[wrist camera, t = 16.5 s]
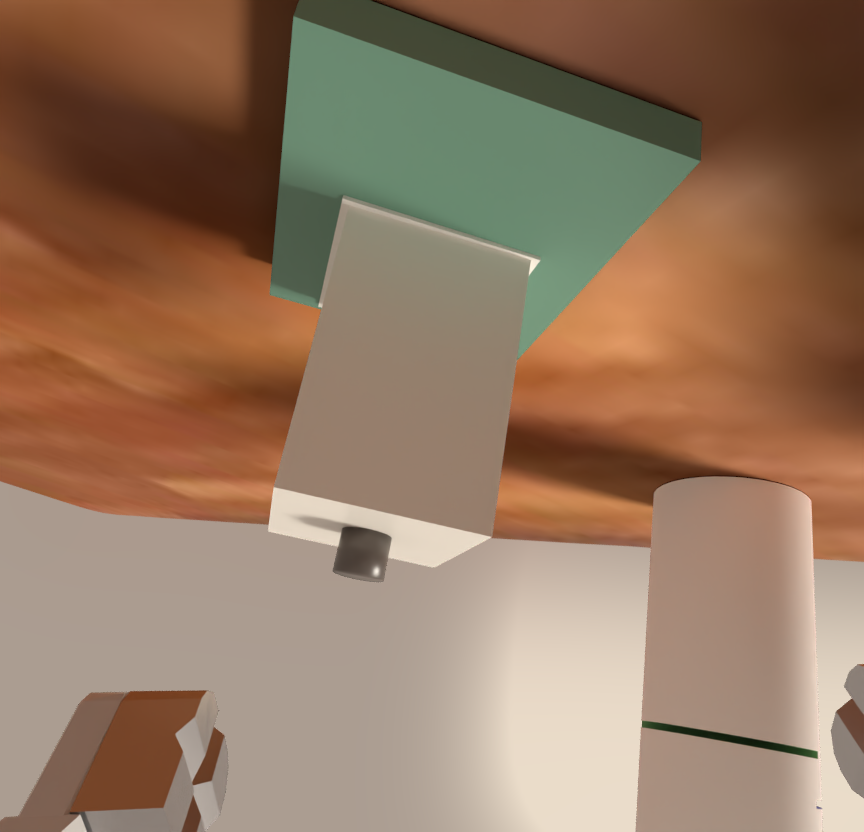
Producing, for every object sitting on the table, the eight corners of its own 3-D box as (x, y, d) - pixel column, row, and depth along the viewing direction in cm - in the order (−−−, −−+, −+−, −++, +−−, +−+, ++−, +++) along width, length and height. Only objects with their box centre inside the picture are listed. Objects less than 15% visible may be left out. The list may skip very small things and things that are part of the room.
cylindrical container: (673, 520, 39) (650, 1087, 30) (635, 477, 34) (592, 1154, 24) (818, 522, 35) (844, 1176, 26) (801, 474, 30) (826, 1279, 20)
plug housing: (348, 205, 16) (260, 536, 13) (530, 259, 17) (484, 584, 14) (327, 305, 21) (257, 569, 18) (471, 345, 22) (427, 604, 19)
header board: (307, -23, 12) (258, 115, 11) (701, 122, 14) (697, 259, 13) (278, 267, 22) (249, 361, 20) (517, 336, 23) (504, 428, 22)
